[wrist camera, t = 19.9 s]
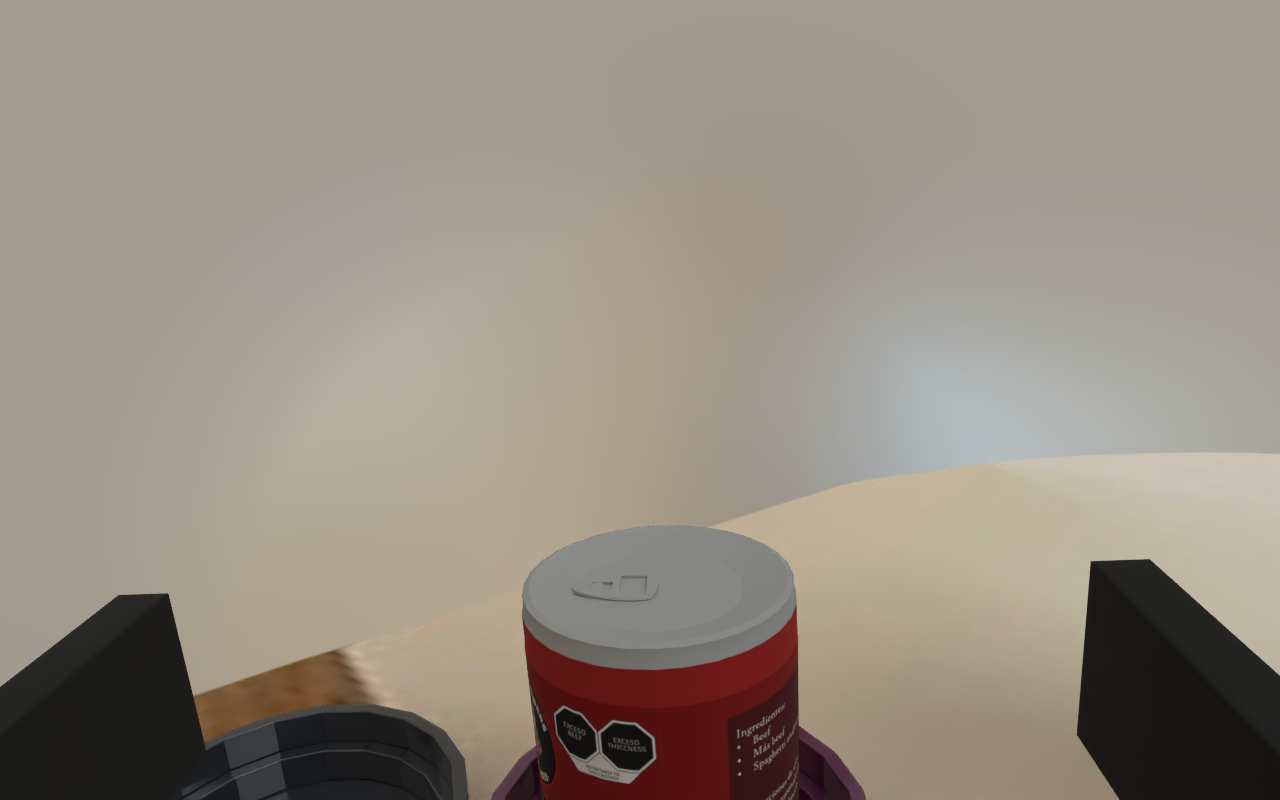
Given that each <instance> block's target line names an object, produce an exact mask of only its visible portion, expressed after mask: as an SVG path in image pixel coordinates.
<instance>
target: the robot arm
mask: <svg viewBox="0 0 1280 800" xmlns="http://www.w3.org/2000/svg"><path fill="white" fill-rule="evenodd" d="M1077 736H1078V737H1079V739H1080V740H1081V742H1082V743H1083V745H1084V746H1085V748H1086V749H1087V751H1088V752H1089V754H1090V755H1091V757H1092V758H1093V760H1094V761H1095V763H1096V765H1097V766H1098V768H1099V769H1100V771H1101V772H1102V774H1103V775H1104V777H1105V778H1106V780H1107V781H1108V783H1109V784H1110V786H1111V787H1112V789H1113V790H1114V792H1115V793H1116V795H1117V796H1118V798H1119V799H1120V800H1280V676H1279V675H1278V674H1277V673H1276V672H1275V671H1274V670H1273V669H1272V668H1270V667H1269V666H1268V665H1267V664H1266V663H1265V662H1264V661H1263V660H1262V659H1260V658H1259V657H1258V656H1257V655H1256V654H1255V653H1254V652H1253V651H1251V650H1250V649H1249V648H1248V647H1247V646H1246V645H1245V644H1244V643H1242V642H1241V641H1240V640H1239V639H1238V638H1237V637H1236V636H1235V635H1234V634H1232V633H1231V632H1230V631H1229V630H1228V629H1227V628H1226V627H1225V626H1223V625H1222V624H1221V623H1220V622H1219V621H1218V620H1217V619H1216V618H1215V617H1213V616H1212V615H1211V614H1210V613H1209V612H1208V611H1207V610H1206V609H1204V608H1203V607H1202V606H1201V605H1200V604H1199V603H1198V602H1197V601H1196V600H1194V599H1193V598H1192V597H1191V596H1190V595H1189V594H1188V593H1187V592H1185V591H1184V590H1183V589H1182V588H1181V587H1180V586H1179V585H1178V584H1177V583H1175V582H1174V581H1173V580H1172V579H1171V578H1170V577H1169V576H1168V575H1166V574H1165V573H1164V572H1163V571H1162V570H1161V569H1160V568H1159V567H1158V566H1156V565H1155V564H1154V563H1153V562H1152V561H1151V560H1150V559H1144V560H1115V561H1091V566H1090V578H1089V591H1088V603H1087V615H1086V628H1085V640H1084V653H1083V665H1082V677H1081V690H1080V702H1079V714H1078V727H1077ZM206 753H207V752H206V748H205V743H204V739H203V735H202V731H201V727H200V723H199V719H198V715H197V710H196V706H195V702H194V698H193V694H192V690H191V686H190V681H189V677H188V673H187V669H186V665H185V661H184V657H183V653H182V648H181V644H180V640H179V637H178V632H177V628H176V624H175V620H174V615H173V611H172V607H171V603H170V599H169V595H168V594H140V595H139V594H138V595H119V596H117V597H116V598H114V599H113V600H112V601H111V602H109V603H108V604H107V605H105V606H104V607H103V608H102V609H100V610H99V611H98V612H96V614H94V615H93V616H91V617H90V618H89V619H87V620H86V621H85V622H84V623H82V624H81V625H80V626H79V627H77V628H76V629H75V630H73V631H72V632H71V633H69V634H68V635H67V636H65V637H64V638H63V639H62V640H60V641H59V642H58V643H57V644H55V645H54V646H53V647H51V648H50V649H49V650H47V651H46V652H45V653H44V654H42V655H41V656H40V657H38V658H37V659H36V660H35V661H34V662H32V663H31V664H29V665H28V666H27V667H25V668H24V669H23V670H22V671H20V672H19V673H18V674H16V675H15V676H14V677H13V678H11V679H10V680H9V681H7V682H6V683H5V684H4V685H2V686H1V687H0V800H169V798H170V797H171V796H172V795H173V793H174V792H175V791H176V790H177V788H178V787H179V786H180V785H181V784H182V782H183V781H184V780H185V779H186V777H187V776H188V775H189V774H190V772H191V771H192V770H193V769H194V767H195V766H196V765H197V764H198V762H199V761H200V760H201V759H202V758H203V756H204V755H205V754H206Z"/></svg>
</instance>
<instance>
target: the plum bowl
mask: <svg viewBox="0 0 1280 800" xmlns="http://www.w3.org/2000/svg"><path fill="white" fill-rule="evenodd" d="M491 800H542V791H541V783H540V774H539V765H538V756H537V748H536V746H535V747H534V748H532V749H531V750H530V751H528V752H527V753H526V754H524V755H523V756H522V757H521V758H520V759H519V760H518V761H517V763H516V764H515V765H514V767H513V768H512V769H511V771H510V772H509V773H508V775H507V776H506V777H505V779H504V780H503V781H502V783H501V784H500V785H499V787H498V788H497V789H496V791H495V792H494V793H493V795H492V798H491ZM799 800H866V797H865V793H864V791H863V789H862V787H861V786H860V785H859V783H858V782H857V781H856V779H855V778H854V777H853V775H852V774H851V772H850V771H849V770H848V768H847V767H846V766H845V764H844V763H843V762H842V760H841V759H840V758H839V756H838V755H837V754H836V753H835V752H834V751H833V750H831V749H830V748H829V747H827V746H826V745H825V744H823V743H822V742H820V741H819V740H818V739H816V738H815V737H814V736H812V735H811V734H809V733H808V732H807V731H805V730H804V729H802V728H801V727H800V726H799Z"/></svg>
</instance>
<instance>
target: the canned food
mask: <svg viewBox="0 0 1280 800" xmlns="http://www.w3.org/2000/svg"><path fill="white" fill-rule="evenodd" d="M522 597H523V610H522V618H523V627H524V636H525V652H526V661H527V670H528V678H529V687H530V696H531V704H532V713H533V722H534V730H535V739H536V748H537V756H538V765H539V774H540V783H541V791H542V800H799V720H798V633H797V606H796V590H795V587H794V579H793V572H792V570H791V568H790V566H789V564H788V562H787V561H786V560H785V559H784V558H783V557H782V556H781V555H780V554H779V553H778V552H776V551H774V550H773V549H771V548H770V547H768V546H766V545H765V544H763V543H761V542H758V541H756V540H753V539H751V538H749V537H746V536H742V535H739V534H735V533H732V532H728V531H723V530H717V529H711V528H705V527H695V526H680V525H679V526H678V525H677V526H648V527H636V528H630V529H624V530H618V531H613V532H608V533H604V534H601V535H596V536H593V537H590V538H587V539H584V540H581V541H579V542H576V543H573V544H571V545H569V546H567V547H565V548H562V549H560V550H558V551H556V552H555V553H553V554H552V555H550V556H549V557H547V558H546V559H544V560H543V561H541V562H540V563H539V564H538V565H537V566H536V567H535V568H534V569H533V570H532V571H531V572H530V574H529V576H528V578H527V579H526V581H525V583H524V588H523V595H522Z"/></svg>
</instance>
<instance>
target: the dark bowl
mask: <svg viewBox="0 0 1280 800" xmlns="http://www.w3.org/2000/svg"><path fill="white" fill-rule="evenodd" d="M205 748H206V752H207V753H206V754H205V755H204V756H203V758H202V759H201V760H200V761H199V762H198V764H197V765H196V766H195V767H194V769H193V770H192V771H191V772H190V774H189V775H188V776H187V777H186V779H185V780H184V781H183V782H182V784H181V785H180V786H179V787H178V788H177V790H176V791H175V792H174V793H173V795H172V796H171V797H170V798H169V800H470V794H469V786H468V779H467V772H466V764H465V760H464V757H463V756H462V754H461V753H460V752H459V750H458V749H457V747H456V746H455V744H454V743H453V742H452V740H451V739H450V737H449V736H448V734H447V733H446V732H445V731H444V730H443V729H441V728H439V727H437V726H436V725H434V724H432V723H430V722H429V721H427V720H425V719H423V718H422V717H420V716H418V715H416V714H415V713H412V712H408V711H403V710H398V709H393V708H388V707H383V706H379V705H374V704H373V705H372V704H360V705H326V706H318V707H313V708H308V709H303V710H298V711H293V712H288V713H283V714H278V715H274V716H270V717H268V718H265V719H262V720H259V721H256V722H254V723H251V724H248V725H245V726H243V727H240V728H237V729H234V730H232V731H229V732H226V733H223V734H221V735H219V736H217V737H215V738H213V739H211V740H209V741H207V742H205Z"/></svg>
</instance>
